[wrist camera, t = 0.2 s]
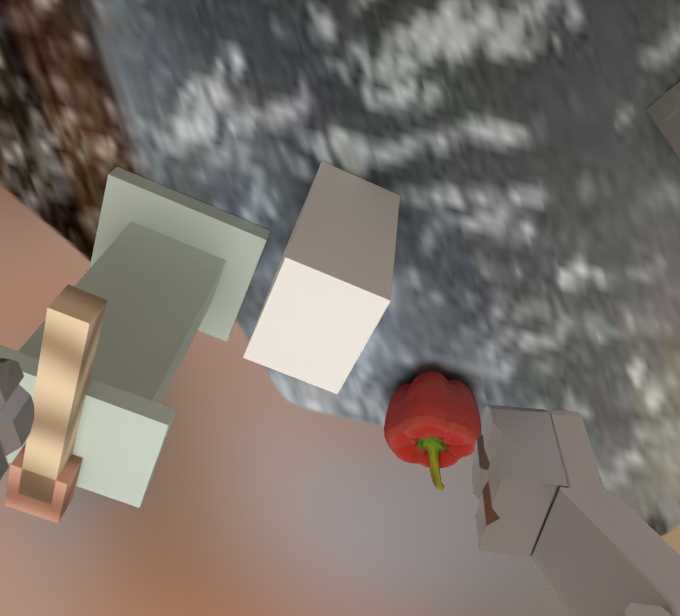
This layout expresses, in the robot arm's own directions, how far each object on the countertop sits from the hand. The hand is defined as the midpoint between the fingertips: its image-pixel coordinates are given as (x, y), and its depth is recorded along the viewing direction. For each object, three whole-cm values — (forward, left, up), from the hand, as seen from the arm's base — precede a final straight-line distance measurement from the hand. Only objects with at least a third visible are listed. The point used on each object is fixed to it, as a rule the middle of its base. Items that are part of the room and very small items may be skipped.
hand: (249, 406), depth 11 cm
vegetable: (+41, +9, -47) cm, 63 cm away
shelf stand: (+26, -20, -47) cm, 57 cm away
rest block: (+20, -3, -47) cm, 51 cm away
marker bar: (+22, -19, -21) cm, 36 cm away
